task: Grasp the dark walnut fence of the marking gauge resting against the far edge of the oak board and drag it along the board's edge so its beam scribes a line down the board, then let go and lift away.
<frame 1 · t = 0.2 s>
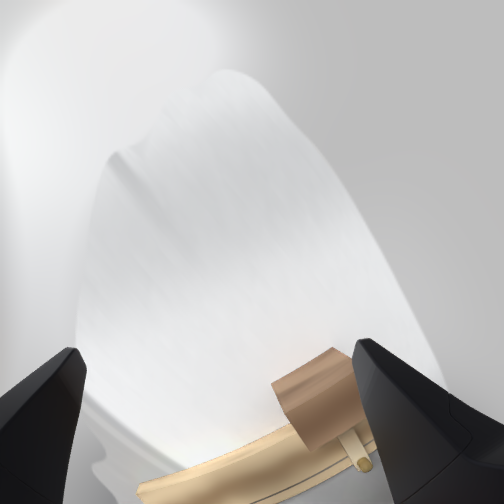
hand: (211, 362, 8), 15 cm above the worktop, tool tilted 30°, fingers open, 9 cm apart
gauge: (340, 426, 20), point 3 cm above the worktop, slide at -7.0 cm
board: (272, 464, 22), on the worktop
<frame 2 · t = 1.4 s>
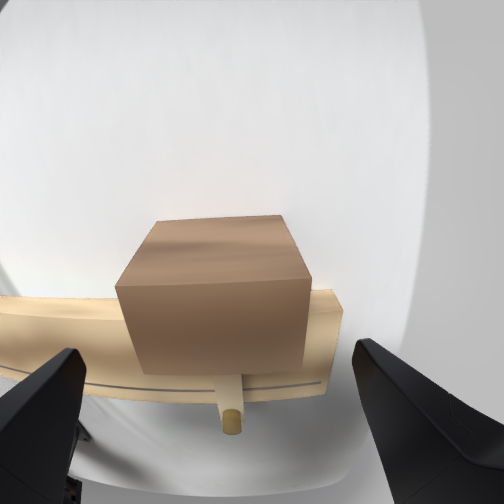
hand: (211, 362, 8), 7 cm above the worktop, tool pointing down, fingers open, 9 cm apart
gauge: (224, 349, 14), point 3 cm above the worktop, slide at -7.0 cm
board: (120, 343, 17), on the worktop
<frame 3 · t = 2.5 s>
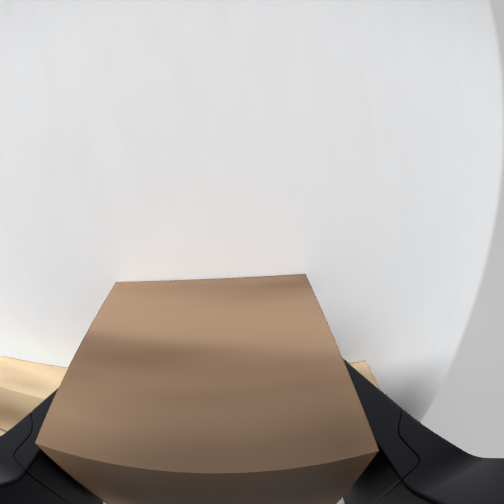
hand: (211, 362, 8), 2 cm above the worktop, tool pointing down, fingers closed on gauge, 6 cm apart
gauge: (222, 454, 8), point 3 cm above the worktop, slide at -7.0 cm, touching gripper
board: (94, 413, 12), on the worktop
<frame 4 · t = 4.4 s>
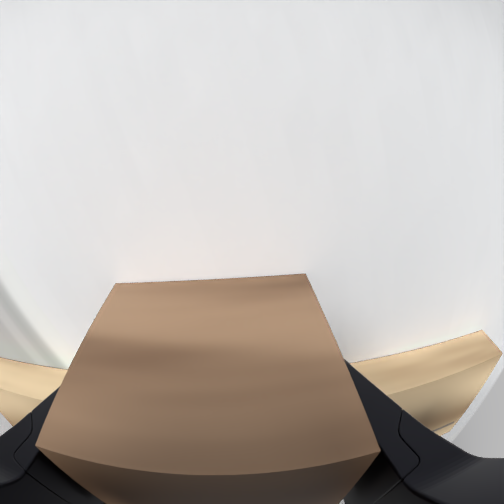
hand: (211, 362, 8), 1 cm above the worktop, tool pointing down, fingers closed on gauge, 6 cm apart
gauge: (223, 455, 8), point 3 cm above the worktop, slide at 0.3 cm, touching gripper
board: (234, 422, 12), on the worktop
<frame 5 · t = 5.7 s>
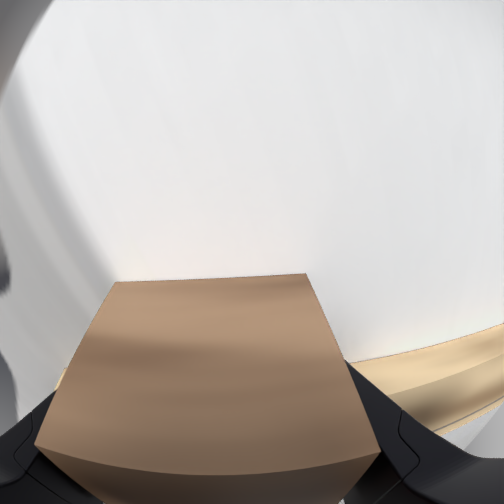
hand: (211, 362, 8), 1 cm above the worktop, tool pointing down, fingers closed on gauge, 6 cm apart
gauge: (222, 454, 8), point 3 cm above the worktop, slide at 5.9 cm, touching gripper
board: (348, 407, 12), on the worktop
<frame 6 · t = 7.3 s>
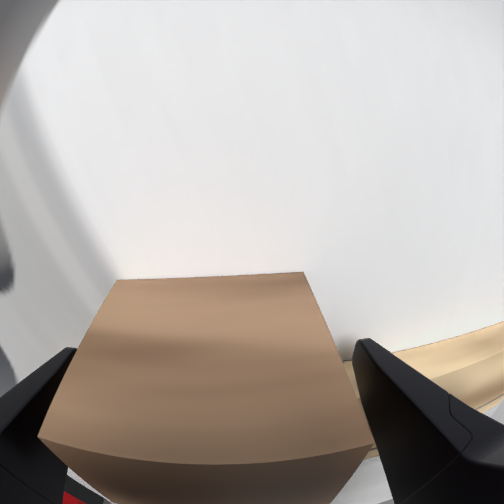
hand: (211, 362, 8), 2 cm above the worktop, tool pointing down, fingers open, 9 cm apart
gauge: (221, 450, 9), point 3 cm above the worktop, slide at 6.0 cm
cleaning product box: (34, 469, 19), on the worktop
board: (347, 405, 13), on the worktop
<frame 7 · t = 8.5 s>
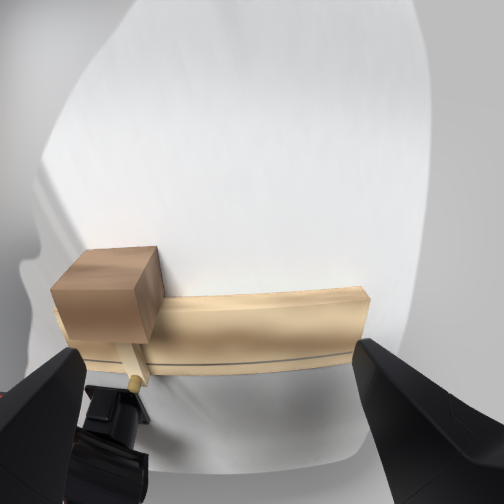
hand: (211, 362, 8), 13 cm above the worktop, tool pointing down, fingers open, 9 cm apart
gauge: (123, 331, 20), point 3 cm above the worktop, slide at 6.0 cm
board: (206, 330, 24), on the worktop
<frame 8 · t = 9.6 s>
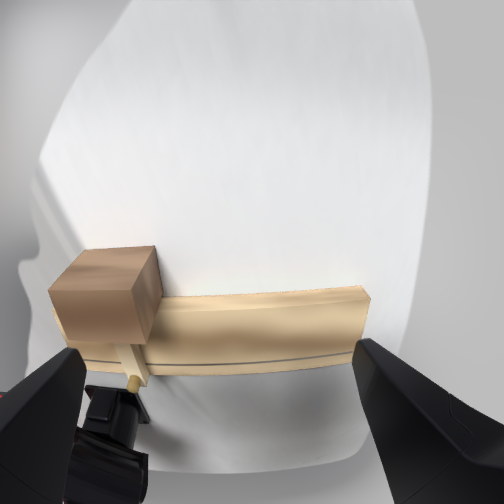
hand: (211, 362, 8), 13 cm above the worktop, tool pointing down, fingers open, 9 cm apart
gauge: (122, 331, 20), point 3 cm above the worktop, slide at 6.0 cm
board: (206, 330, 24), on the worktop
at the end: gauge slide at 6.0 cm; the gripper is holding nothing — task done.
